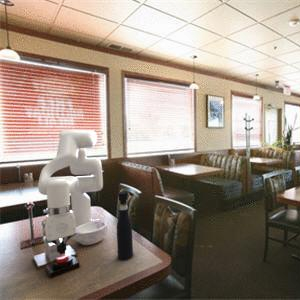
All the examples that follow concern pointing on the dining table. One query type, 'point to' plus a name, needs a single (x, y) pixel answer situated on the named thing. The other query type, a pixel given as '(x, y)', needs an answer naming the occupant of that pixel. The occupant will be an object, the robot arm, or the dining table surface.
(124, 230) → the wine bottle
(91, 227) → the white round bowl
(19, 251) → the dining table surface
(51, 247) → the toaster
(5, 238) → the dining table surface
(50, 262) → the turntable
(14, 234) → the dining table surface
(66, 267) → the control block
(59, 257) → the button
